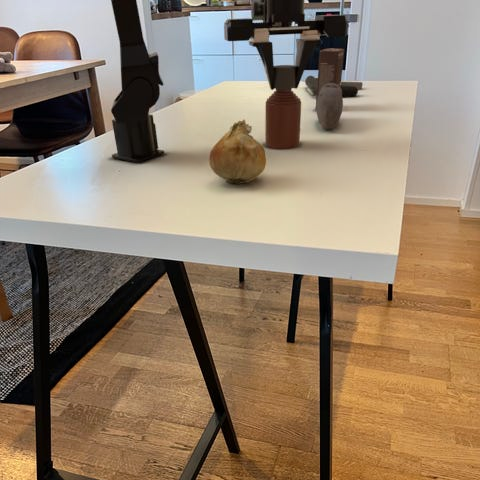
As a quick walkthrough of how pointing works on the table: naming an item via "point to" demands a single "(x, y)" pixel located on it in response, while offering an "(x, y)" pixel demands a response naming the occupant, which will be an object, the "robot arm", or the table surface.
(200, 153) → the table surface
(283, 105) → the bottle
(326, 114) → the perforated stone tool
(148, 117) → the robot arm
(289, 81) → the cap
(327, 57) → the box
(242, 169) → the onion
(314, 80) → the door handle
